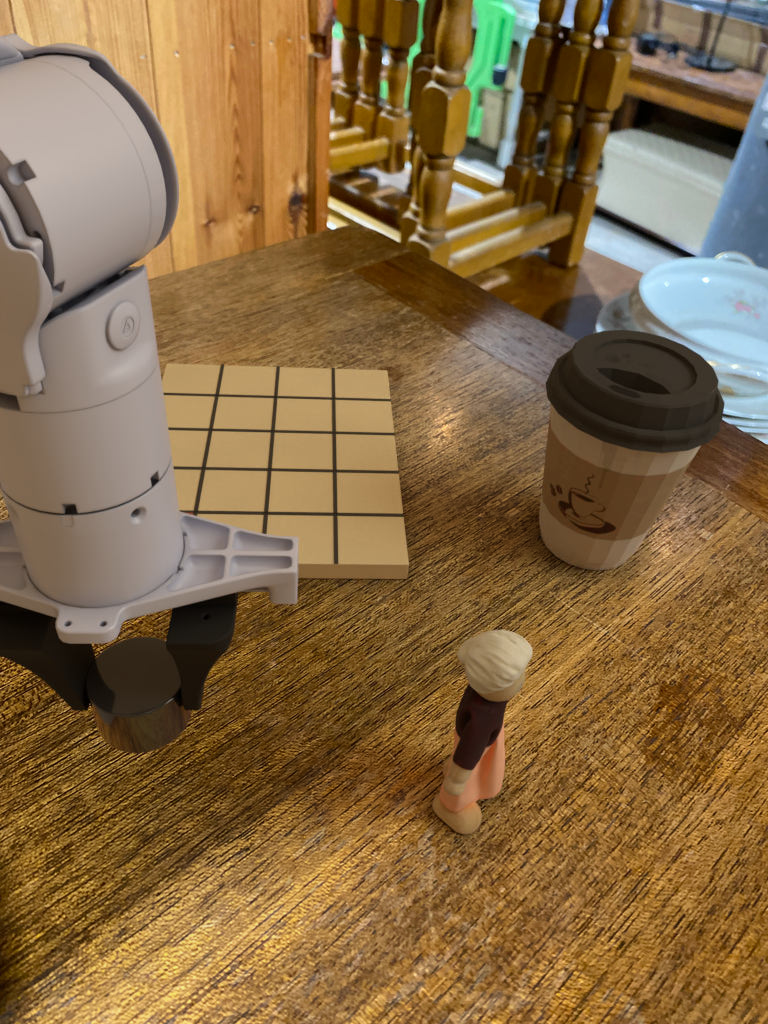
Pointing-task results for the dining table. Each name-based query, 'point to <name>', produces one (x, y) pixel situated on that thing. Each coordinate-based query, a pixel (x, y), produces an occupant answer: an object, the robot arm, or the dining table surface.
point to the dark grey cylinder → (136, 695)
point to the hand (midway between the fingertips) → (139, 692)
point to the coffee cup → (620, 441)
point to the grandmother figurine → (481, 726)
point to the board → (293, 461)
